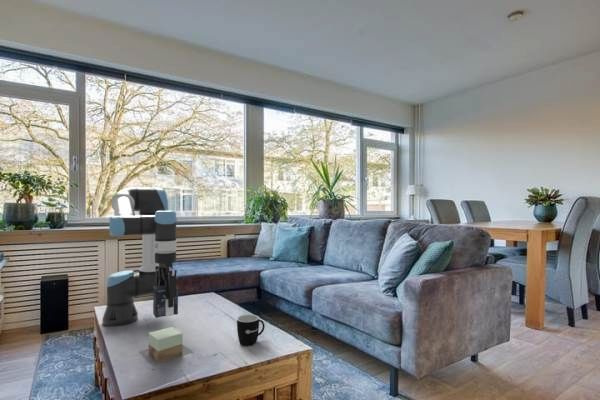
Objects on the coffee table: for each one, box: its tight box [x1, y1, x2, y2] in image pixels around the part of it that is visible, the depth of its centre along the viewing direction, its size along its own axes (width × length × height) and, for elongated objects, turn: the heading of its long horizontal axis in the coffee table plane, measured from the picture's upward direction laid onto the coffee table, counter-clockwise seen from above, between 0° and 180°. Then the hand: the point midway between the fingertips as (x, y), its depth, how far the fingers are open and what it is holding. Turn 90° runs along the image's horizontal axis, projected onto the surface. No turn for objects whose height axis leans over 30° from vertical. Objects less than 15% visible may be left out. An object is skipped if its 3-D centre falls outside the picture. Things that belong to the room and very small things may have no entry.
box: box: [152, 285, 179, 319], centre depth 125 cm, size 8×6×11 cm
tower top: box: [148, 326, 184, 351], centre depth 125 cm, size 9×9×4 cm
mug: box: [236, 314, 266, 347], centre depth 137 cm, size 12×9×10 cm
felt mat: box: [138, 344, 194, 366], centre depth 127 cm, size 15×15×1 cm
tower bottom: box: [148, 343, 184, 363], centre depth 125 cm, size 9×9×4 cm
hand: (165, 313), depth 125 cm, fingers closed on box, 6 cm apart
